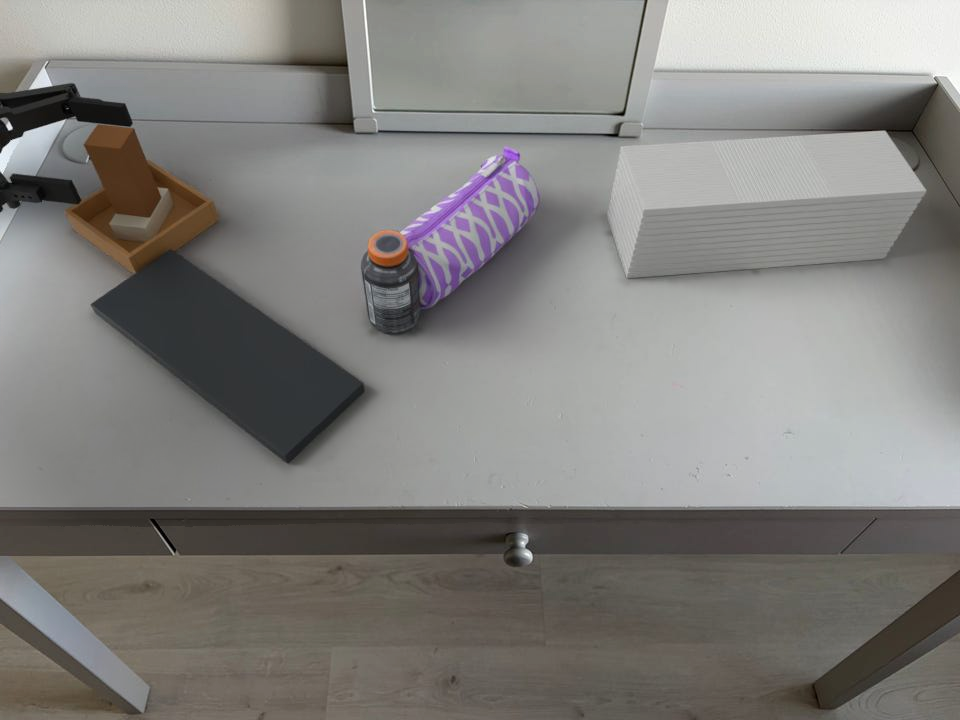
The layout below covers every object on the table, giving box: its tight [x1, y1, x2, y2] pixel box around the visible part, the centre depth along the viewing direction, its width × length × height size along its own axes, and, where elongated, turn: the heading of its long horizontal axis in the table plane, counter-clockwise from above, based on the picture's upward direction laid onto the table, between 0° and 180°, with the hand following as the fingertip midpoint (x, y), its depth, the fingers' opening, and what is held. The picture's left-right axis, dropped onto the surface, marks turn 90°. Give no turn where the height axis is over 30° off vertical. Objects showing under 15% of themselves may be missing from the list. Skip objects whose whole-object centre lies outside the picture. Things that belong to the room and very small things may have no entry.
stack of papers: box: [606, 130, 927, 279], centre depth 92 cm, size 32×11×11 cm, turn 97°
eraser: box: [83, 123, 174, 242], centre depth 90 cm, size 7×4×12 cm, turn 172°
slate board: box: [90, 249, 365, 464], centre depth 83 cm, size 11×30×2 cm, turn 52°
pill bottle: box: [360, 229, 422, 335], centre depth 83 cm, size 6×6×11 cm
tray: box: [63, 159, 220, 275], centre depth 94 cm, size 12×12×3 cm
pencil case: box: [399, 145, 541, 310], centre depth 89 cm, size 22×9×10 cm, turn 145°
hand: (103, 152), depth 86 cm, fingers open, 13 cm apart
